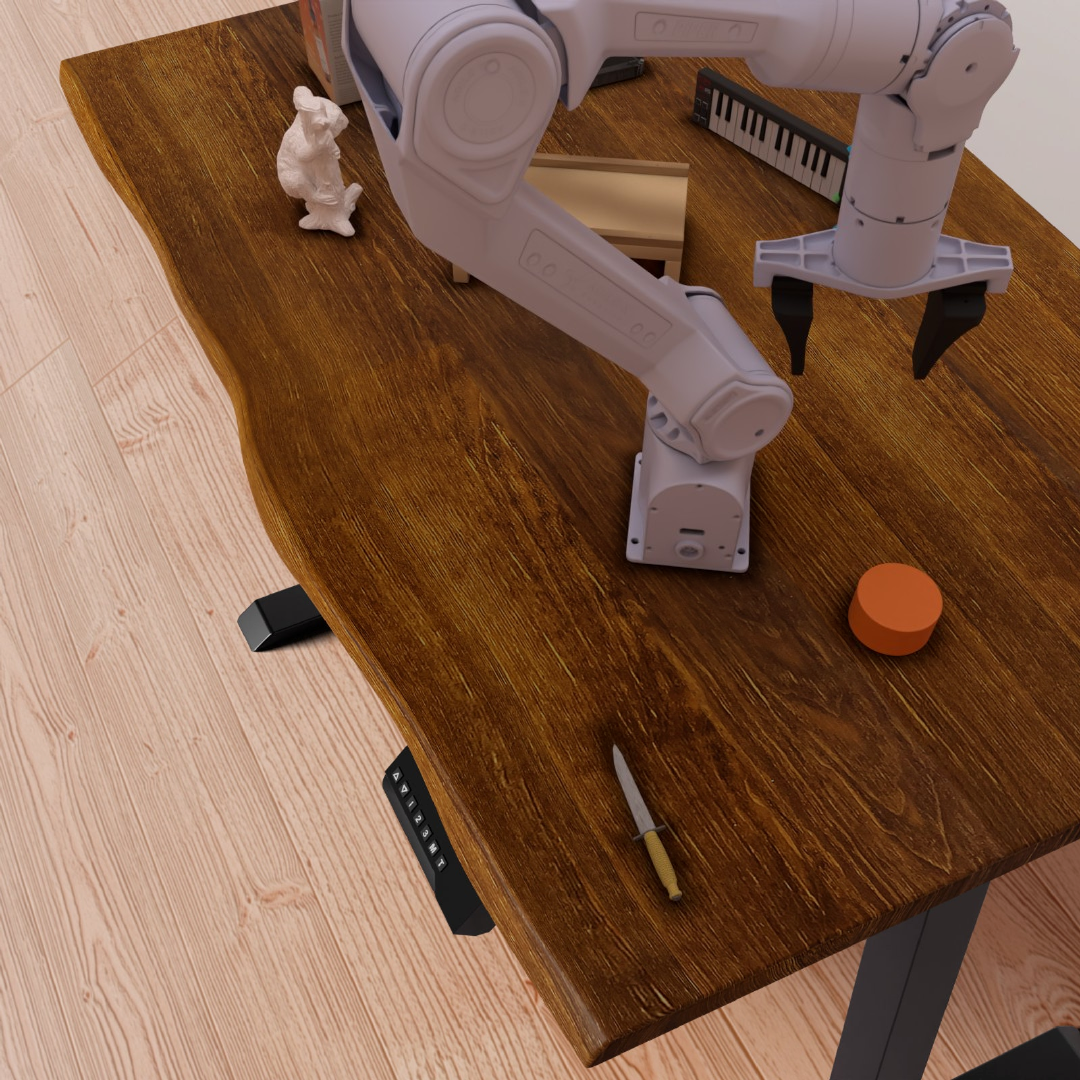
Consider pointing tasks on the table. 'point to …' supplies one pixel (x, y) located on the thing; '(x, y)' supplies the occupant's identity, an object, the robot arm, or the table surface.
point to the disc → (895, 609)
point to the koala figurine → (317, 164)
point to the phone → (618, 69)
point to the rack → (618, 202)
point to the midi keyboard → (771, 133)
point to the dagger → (646, 827)
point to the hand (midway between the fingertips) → (857, 366)
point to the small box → (328, 49)
